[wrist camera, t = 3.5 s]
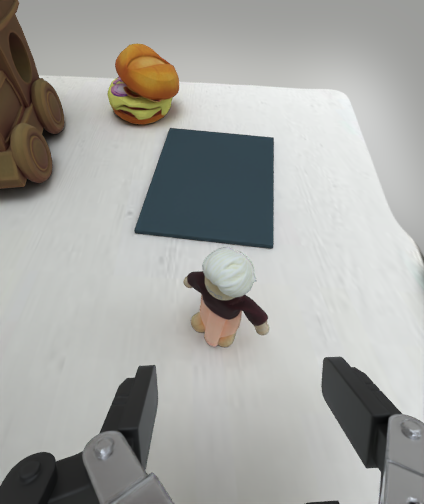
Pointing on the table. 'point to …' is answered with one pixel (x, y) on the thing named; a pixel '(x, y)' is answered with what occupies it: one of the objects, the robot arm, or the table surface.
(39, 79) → the wooden toy train
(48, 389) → the table surface
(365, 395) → the robot arm
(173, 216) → the mat
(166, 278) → the table surface
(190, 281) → the grandmother figurine
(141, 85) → the cheeseburger
